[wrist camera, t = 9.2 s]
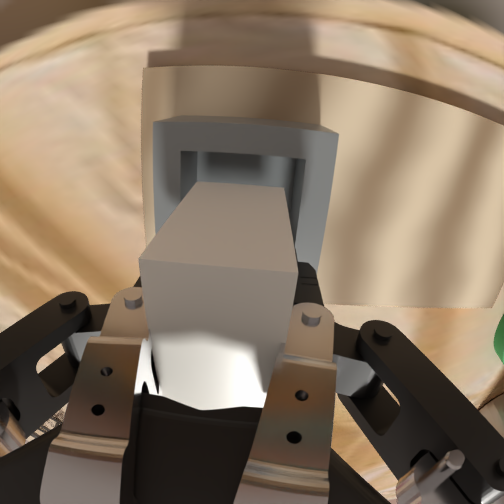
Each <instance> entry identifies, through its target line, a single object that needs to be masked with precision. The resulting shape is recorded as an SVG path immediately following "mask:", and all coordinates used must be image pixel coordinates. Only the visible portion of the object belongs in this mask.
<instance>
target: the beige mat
mask: <svg viewBox="0 0 504 504" xmlns="http://www.w3.org/2000/svg"><path fill="white" fill-rule="evenodd" d="M181 115H188V116H226V117H245V118H260V119H272V120H283V121H292V122H301V123H310V124H318V125H322V126H324V127H326V128H328V129H330V130H332V131H334V132H336V133H338V134H339V139H338V147H337V155H336V162H335V169H334V176H333V183H332V190H331V196H330V203H329V209H328V215H327V221H326V227H325V233H324V238H323V244H322V249H321V255H320V260H319V265H318V271H317V279H318V283H319V287H320V291H321V295H322V299H323V304H337V305H357V306H382V307H417V308H492V307H493V305H494V303H495V301H496V299H497V296H498V294H499V292H500V290H501V287H502V285H503V283H504V125H501V124H499V123H497V122H494V121H492V120H489V119H487V118H484V117H482V116H479V115H477V114H474V113H472V112H469V111H466V110H464V109H461V108H458V107H455V106H452V105H449V104H446V103H443V102H440V101H437V100H434V99H431V98H427V97H424V96H420V95H417V94H413V93H410V92H406V91H402V90H399V89H395V88H391V87H386V86H382V85H378V84H373V83H369V82H364V81H359V80H354V79H349V78H343V77H337V76H331V75H325V74H318V73H311V72H303V71H295V70H286V69H275V68H263V67H247V66H218V65H194V66H165V67H149V68H143V80H142V109H141V162H142V192H143V211H144V226H145V239H146V247H147V246H148V245H149V243H150V242H151V241H152V239H153V238H154V237H155V235H156V234H155V217H154V193H153V122H155V121H159V120H163V119H167V118H172V117H176V116H181Z"/></svg>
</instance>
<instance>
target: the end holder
mask: <svg viewBox="0 0 504 504" xmlns="http://www.w3.org/2000/svg"><path fill="white" fill-rule="evenodd" d="M338 139H339V134H338V133H336V132H334V131H332V130H330V129H328V128H326V127H324V126H322V125H318V124H310V123H301V122H292V121H283V120H272V119H260V118H245V117H226V116H188V115H181V116H176V117H172V118H167V119H163V120H159V121H155V122H153V193H154V217H155V234H157V233H158V231H159V230H160V228H161V227H162V226H163V224H164V223H165V222H166V221H167V219H168V218H169V217H170V215H171V214H172V213H173V211H174V210H175V209H176V207H177V206H178V205H179V204H180V202H181V201H182V200H183V198H184V197H185V196H186V195H187V193H188V192H189V191H190V190H191V188H192V187H193V186H194V185H195V183H196V182H197V181H198V182H216V183H231V184H245V185H258V186H270V187H281V188H284V191H285V196H286V202H287V208H288V213H289V219H290V225H291V231H292V236H293V242H294V248H295V249H296V253H297V259H298V262H308V263H309V264H310V265H311V266H312V267H313V268H314V269H315V270H316V274H317V271H318V265H319V260H320V255H321V249H322V244H323V238H324V233H325V227H326V221H327V215H328V209H329V203H330V196H331V190H332V183H333V176H334V169H335V162H336V155H337V147H338Z"/></svg>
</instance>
